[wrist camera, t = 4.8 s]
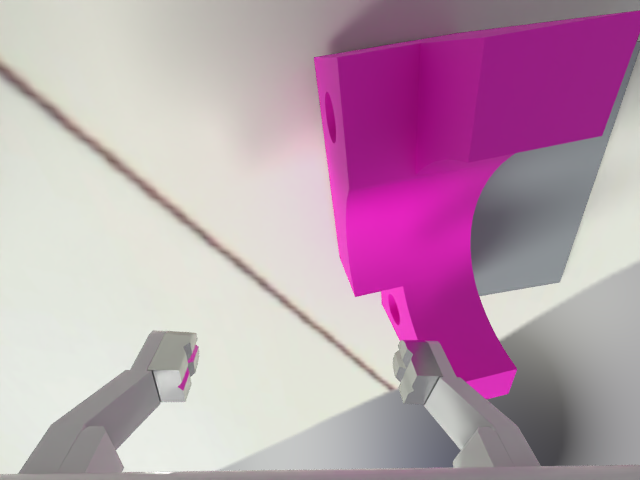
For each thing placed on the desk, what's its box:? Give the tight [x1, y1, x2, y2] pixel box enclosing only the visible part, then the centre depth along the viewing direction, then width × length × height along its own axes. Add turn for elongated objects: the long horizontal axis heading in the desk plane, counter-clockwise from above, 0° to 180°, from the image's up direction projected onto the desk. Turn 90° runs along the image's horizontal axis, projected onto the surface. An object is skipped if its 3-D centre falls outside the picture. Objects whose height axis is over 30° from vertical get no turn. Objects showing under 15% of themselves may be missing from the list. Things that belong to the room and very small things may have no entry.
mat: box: [470, 41, 640, 296], centre depth 17 cm, size 8×14×1 cm, turn 10°
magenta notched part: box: [314, 11, 640, 399], centre depth 13 cm, size 15×6×8 cm, turn 8°
